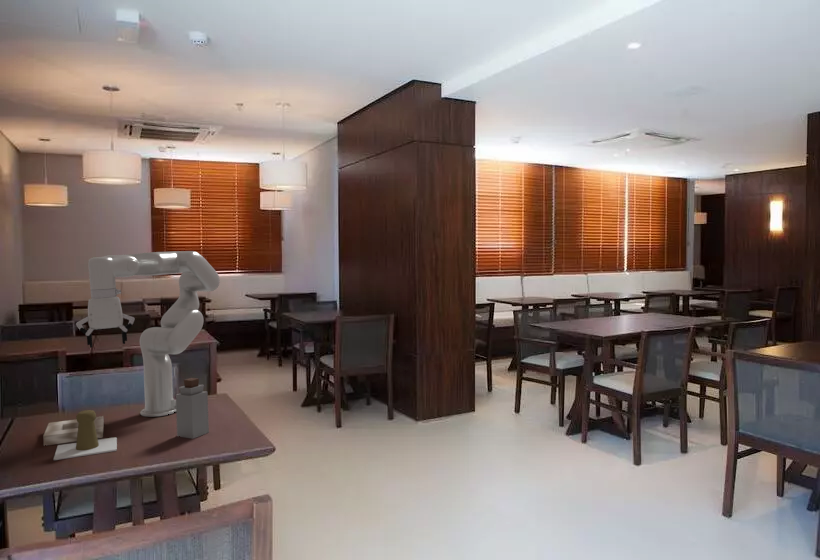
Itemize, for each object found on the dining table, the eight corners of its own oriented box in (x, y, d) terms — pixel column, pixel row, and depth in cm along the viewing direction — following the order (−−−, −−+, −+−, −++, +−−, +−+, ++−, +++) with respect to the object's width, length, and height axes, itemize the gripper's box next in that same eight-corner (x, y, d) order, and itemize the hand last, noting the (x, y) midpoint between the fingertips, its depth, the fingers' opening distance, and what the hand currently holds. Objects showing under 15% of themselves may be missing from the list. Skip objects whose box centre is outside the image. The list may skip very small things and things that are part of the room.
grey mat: (116, 438, 182) (116, 437, 182) (116, 450, 170) (116, 449, 170) (57, 446, 175) (57, 445, 175) (53, 460, 163) (53, 458, 163)
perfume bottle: (208, 432, 187) (207, 377, 186) (192, 438, 181) (191, 382, 180) (193, 430, 190) (191, 376, 189) (177, 436, 184) (175, 380, 183)
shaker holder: (103, 424, 197) (103, 416, 197) (102, 437, 183) (102, 428, 183) (49, 431, 190) (48, 422, 190) (43, 445, 176) (43, 436, 176)
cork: (103, 443, 175) (101, 408, 175) (90, 450, 169) (89, 413, 169) (84, 443, 176) (83, 408, 175) (71, 450, 170) (69, 413, 169)
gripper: (132, 291, 197) (135, 340, 199) (73, 295, 189) (78, 346, 190) (133, 293, 191) (137, 343, 192) (73, 297, 182) (77, 350, 184)
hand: (107, 345), depth 191 cm, fingers open, 9 cm apart
